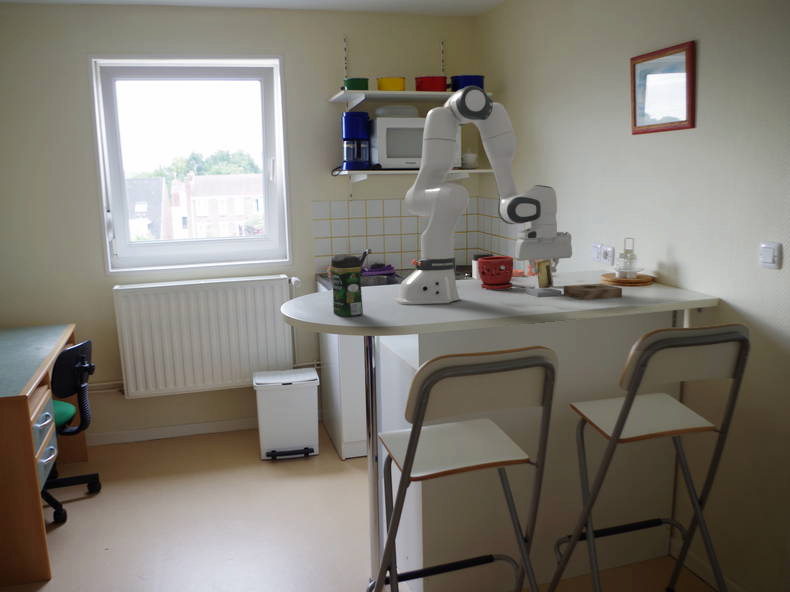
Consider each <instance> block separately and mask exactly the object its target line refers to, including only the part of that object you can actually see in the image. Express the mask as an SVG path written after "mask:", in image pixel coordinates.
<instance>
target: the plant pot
mask: <svg viewBox="0 0 790 592" xmlns="http://www.w3.org/2000/svg"><path fill="white" fill-rule="evenodd" d="M484 267H485V268H484ZM501 267H504V268H503V269H502V268H501ZM478 269H479V275H480V278H481V279H480V280H481V282H482V284H480V285H481V288H482V287H483V288H482V289H484V288H486V289H485V290H488V289H506V290H509V289H511V288H512V287H513V283H512V282H511V280H512V278H513V277H512V274H513V269H514V257H513V256H506V255H504V256H503V255H499V256H498V255H497V256H494V257H485V258H480V259H478ZM494 270H495V271H494ZM507 271H508V272H507ZM508 288H509V289H508Z"/></svg>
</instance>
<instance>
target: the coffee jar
mask: <svg viewBox="0 0 790 592" xmlns="http://www.w3.org/2000/svg"><path fill="white" fill-rule="evenodd" d="M330 266H331V276H332V297H333V298H332V299H333V300H332V303H333V305H332V306H333V310H332V311H333V313H334V315H336V316H338V317H341V318H354V316H356V317H358V316H362V315H363V314H364V313H363V312H364V311H363V309H364V307H363V295H362V283H361V282H362V281H361V280H362V279H361V278H362V277H361V275H362V274H361V273H362V272H361V271H362V263H361V258H360V257H358V256H354V255H350V254H338V255H337V254H336V255H334V256H333V257H332V258H331V265H330Z"/></svg>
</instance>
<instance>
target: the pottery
mask: <svg viewBox="0 0 790 592" xmlns="http://www.w3.org/2000/svg"><path fill="white" fill-rule="evenodd" d="M527 261H528V265H527V269H528V270H527V273H526V275H525V271H524V270H520V269H517V268H513V274H512V278H519V277H518V276H524V277H525V276H530V277H531V276H532V277H536V276H535V275H537V273H532V267H531V266H530V264H529V260H527ZM537 261H539V260H535V263H534V265H535V267H536V268H537V266H536V262H537ZM507 272H508V271H507Z"/></svg>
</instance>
